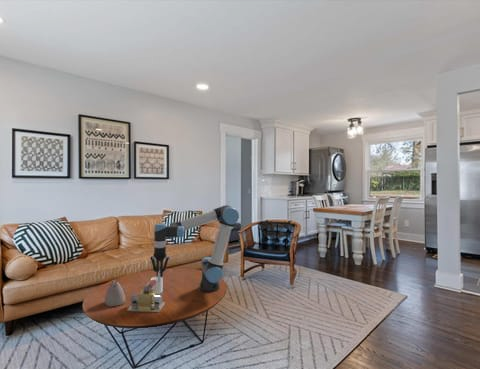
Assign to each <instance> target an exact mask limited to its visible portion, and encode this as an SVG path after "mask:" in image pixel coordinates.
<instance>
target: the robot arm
mask: <svg viewBox="0 0 480 369" xmlns="http://www.w3.org/2000/svg"><path fill="white" fill-rule="evenodd" d="M239 218H240V213H239V211H238V209H237V208H236V207H233V206H230V205H227V204H226V205H222V206H219V207H216V208H213V210H211V211H209V212H205V213H202V214H199V215H195V216H192V217H189V218H186V219H183V220H180V221H177V222H172V223H171V222H170V223H169V225H168V226H167V224H166V223H163V222H161V223H155V225H154V232H153V234H154V235H153V237H154V238H153V239H154V241H153V242H154V243H153V246H154V248H153V255H151V256H149V259H150V260H151V265H152V269H153V272H156V274H155V275H156V276H155V277H158V282H161V277H162V278H163V276H164V272H165V271H166V269H167V267H168V266H167V265H168V262H169V260H170V256H168V255H167V252H166V251H167V248H166V246H167V239H169V238H183V237H184V236H185V231H188V230H190V229H193V228H196V227H201V226H202V225H206V224H209V223H212V222H218V224H219V229H218V232H217V236H216V239H215V242H214V246H213V250H212V253H211V256H207V257H203V258H202V259H201V279H200V283H199V286H198V287H199V290H200V291H202V292H206V293H210V292H211V293H212V292H216V291H218V290H219V289H220V281H221V280H222V278H223V277H224V273H223V269H224V264H225V263H224V262H223V261H224V257H225V253H226V251H227V247H228V244H229V243H228V242H229V240H230V236H231V232H232V229H233V228H235V226H236V223H237V222H238V221H239ZM164 260H165V261H164Z"/></svg>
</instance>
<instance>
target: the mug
mask: <svg viewBox="0 0 480 369" xmlns="http://www.w3.org/2000/svg"><path fill="white" fill-rule="evenodd" d="M152 280H156V284H155V285H154V286H153V287H152V288H151V289H155V294H156V295H162V294H163V286H164V285H163V283H164V281H163V276H162V277H161V282H158V277H157V276H154V277H151V278H150V281H149V282H147V284H146V285H145V286H148V284H149V283H150V282H151V281H152Z"/></svg>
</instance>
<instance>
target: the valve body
mask: <svg viewBox="0 0 480 369" xmlns="http://www.w3.org/2000/svg"><path fill="white" fill-rule="evenodd" d="M130 302H131V305H130V306H128V308H127V309H126V310H127V312H144V313H145V312H147V313H159V312H160V311H161V309H162V308H163V306H164V305H165V304H166V302H165V301H163V295H162V294H158V295H156V294H155V289H150V292H146V293H145V292H143V289H142V290H141V291H140V292H138V293H137V294H132V295H131V296H130Z"/></svg>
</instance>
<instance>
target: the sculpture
mask: <svg viewBox="0 0 480 369" xmlns="http://www.w3.org/2000/svg"><path fill="white" fill-rule="evenodd" d="M124 292H125V291H124V290H123V288H122V286H121V284H120V283H119V281H115V280H114V279H113V280H112V281H111V283H110V284H109V286H108V288H107V291H106V292H105V293H106V294H105V297H104V304H105V305H106V307H111V308H113V307H119V306H122V305H124V304H125V301H126V295H125V293H124Z"/></svg>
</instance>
